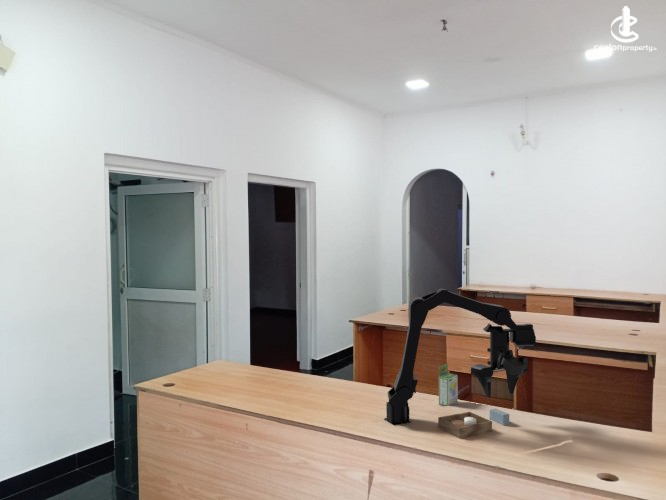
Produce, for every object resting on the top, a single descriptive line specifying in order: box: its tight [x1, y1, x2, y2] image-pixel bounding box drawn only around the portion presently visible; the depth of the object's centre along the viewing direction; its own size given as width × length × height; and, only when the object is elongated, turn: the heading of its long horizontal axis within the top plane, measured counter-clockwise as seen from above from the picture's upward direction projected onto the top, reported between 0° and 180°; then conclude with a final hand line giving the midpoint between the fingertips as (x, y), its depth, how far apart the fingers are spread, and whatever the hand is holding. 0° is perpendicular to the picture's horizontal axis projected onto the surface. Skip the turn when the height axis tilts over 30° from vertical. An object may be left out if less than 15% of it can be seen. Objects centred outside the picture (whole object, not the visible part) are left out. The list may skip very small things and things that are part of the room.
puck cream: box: [464, 417, 476, 426], centre depth 157 cm, size 4×4×3 cm
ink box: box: [438, 363, 459, 407], centre depth 182 cm, size 7×4×13 cm, turn 140°
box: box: [437, 411, 493, 439], centre depth 155 cm, size 12×10×4 cm
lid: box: [489, 408, 510, 426], centre depth 162 cm, size 13×11×4 cm
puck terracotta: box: [452, 420, 464, 427], centre depth 154 cm, size 4×4×3 cm
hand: (500, 395), depth 162 cm, fingers open, 9 cm apart
